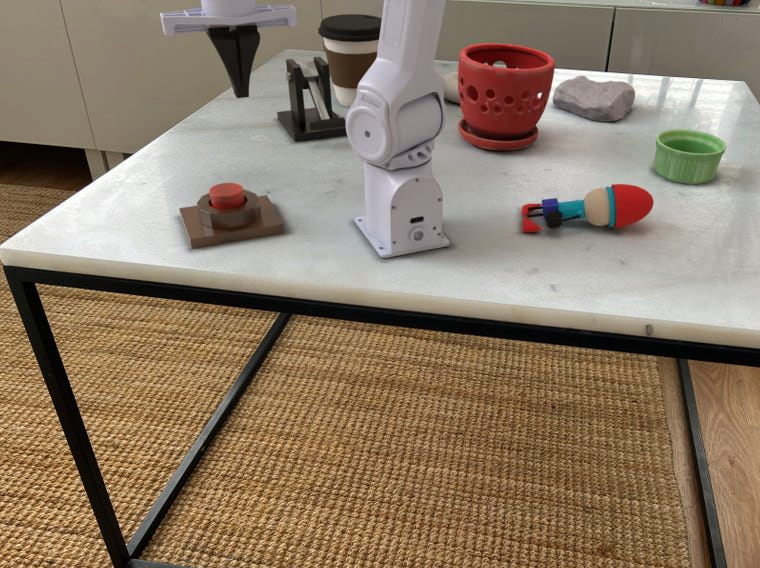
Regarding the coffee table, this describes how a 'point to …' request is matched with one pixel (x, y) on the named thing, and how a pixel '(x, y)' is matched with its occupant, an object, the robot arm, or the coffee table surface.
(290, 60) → the bracket
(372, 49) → the coffee cup
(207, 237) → the button block
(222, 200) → the button
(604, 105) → the stone block
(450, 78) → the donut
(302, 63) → the lever
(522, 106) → the flower pot
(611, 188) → the toy figure
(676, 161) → the ramekin
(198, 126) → the coffee table surface
